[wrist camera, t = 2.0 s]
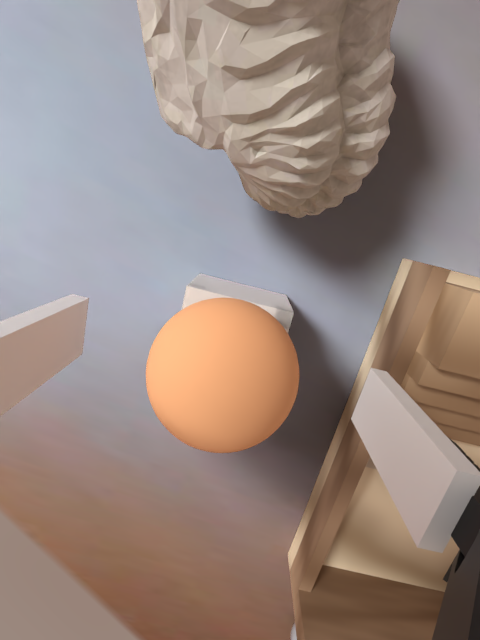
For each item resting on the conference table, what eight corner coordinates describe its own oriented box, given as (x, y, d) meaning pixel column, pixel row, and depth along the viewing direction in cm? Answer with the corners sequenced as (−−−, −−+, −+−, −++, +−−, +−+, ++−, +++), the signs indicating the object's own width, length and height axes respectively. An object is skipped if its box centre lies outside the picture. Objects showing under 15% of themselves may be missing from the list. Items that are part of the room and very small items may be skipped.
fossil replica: (356, 213, 17) (485, 204, 8) (198, 226, 18) (135, 232, 8) (363, -88, 14) (607, -772, 4) (168, -63, 14) (-2, -630, 5)
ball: (180, 270, 15) (136, 301, 9) (306, 302, 15) (338, 350, 10) (158, 384, 17) (109, 468, 11) (271, 411, 17) (281, 508, 11)
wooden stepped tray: (402, 258, 18) (477, 276, 12) (610, 311, 18) (783, 355, 12) (287, 554, 24) (299, 662, 18) (444, 589, 25) (505, 706, 19)
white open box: (199, 273, 18) (186, 285, 15) (286, 294, 19) (294, 312, 15) (182, 353, 20) (166, 383, 16) (263, 373, 20) (265, 406, 16)
